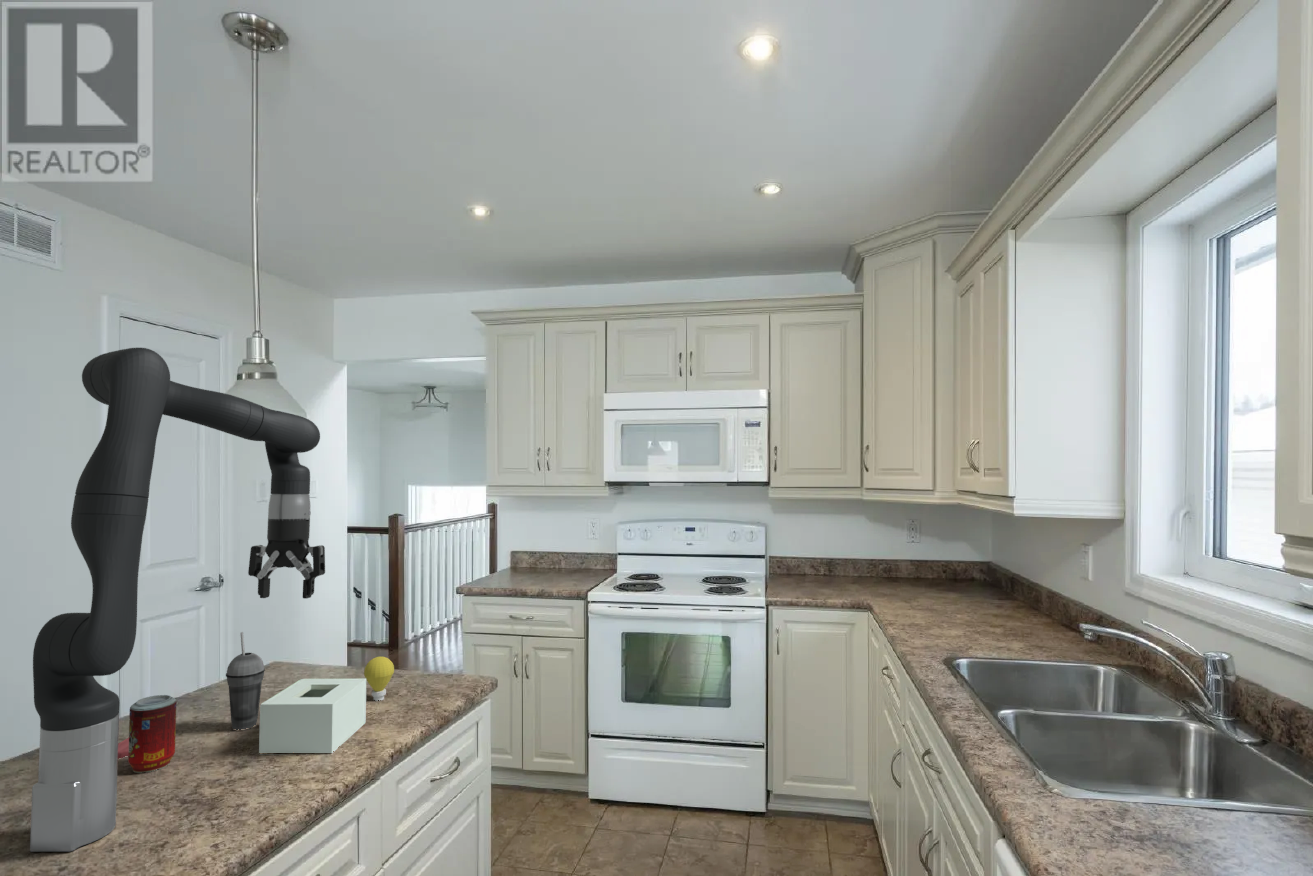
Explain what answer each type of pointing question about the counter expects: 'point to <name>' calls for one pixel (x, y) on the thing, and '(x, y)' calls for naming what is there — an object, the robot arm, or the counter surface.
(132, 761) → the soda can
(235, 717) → the beverage cup
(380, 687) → the light bulb
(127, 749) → the popsicle
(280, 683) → the counter surface
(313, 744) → the box
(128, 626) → the robot arm
